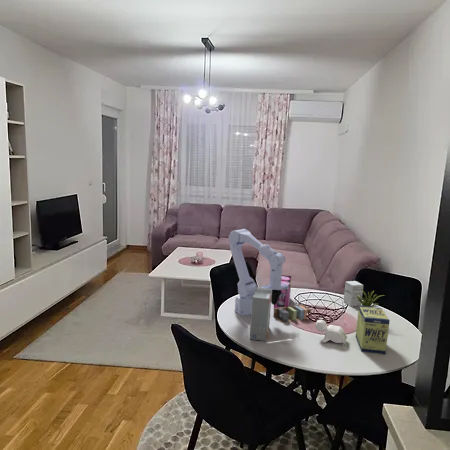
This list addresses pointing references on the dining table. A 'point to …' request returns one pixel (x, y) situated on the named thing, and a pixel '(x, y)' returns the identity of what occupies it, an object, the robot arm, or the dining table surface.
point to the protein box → (372, 329)
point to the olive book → (292, 313)
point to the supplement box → (352, 293)
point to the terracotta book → (304, 311)
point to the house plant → (369, 300)
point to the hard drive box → (260, 314)
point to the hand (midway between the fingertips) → (273, 303)
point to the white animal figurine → (331, 332)
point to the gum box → (284, 293)
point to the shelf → (286, 310)
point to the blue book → (299, 312)
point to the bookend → (283, 315)
